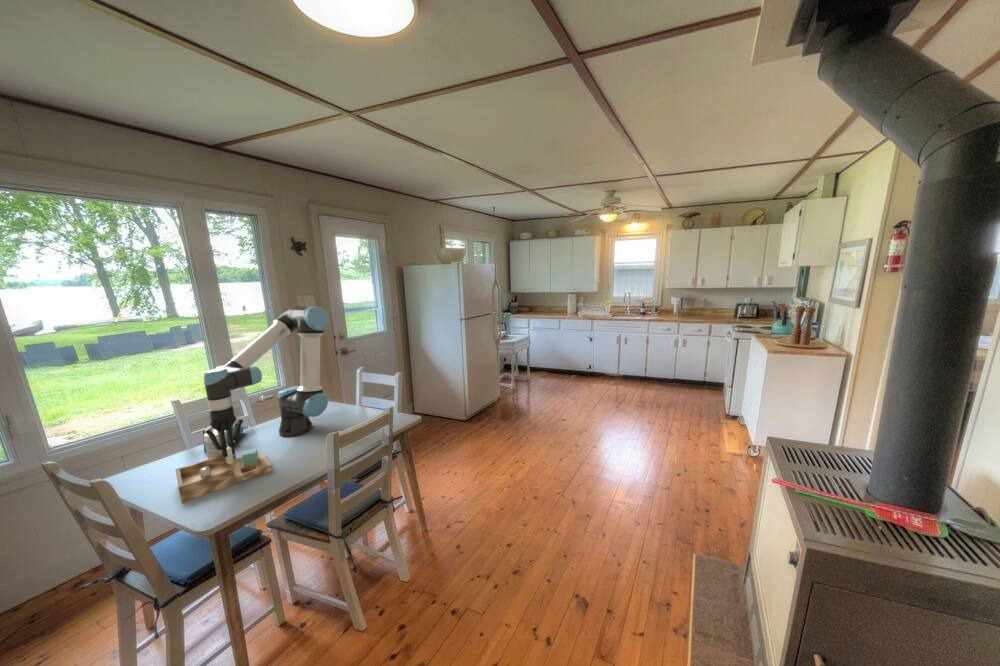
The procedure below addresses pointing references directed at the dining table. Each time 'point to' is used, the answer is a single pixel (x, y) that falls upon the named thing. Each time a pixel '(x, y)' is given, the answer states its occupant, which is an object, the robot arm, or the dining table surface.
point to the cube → (250, 456)
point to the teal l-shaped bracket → (232, 434)
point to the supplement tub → (210, 447)
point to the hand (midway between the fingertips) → (230, 462)
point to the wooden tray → (217, 475)
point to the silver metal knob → (205, 472)
